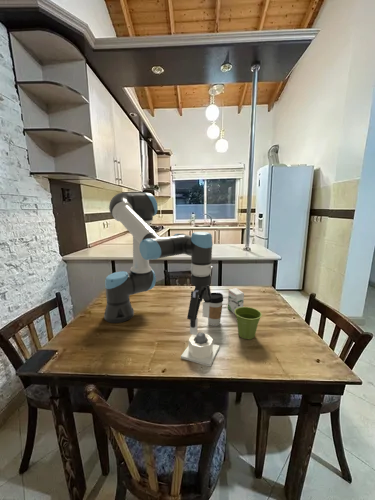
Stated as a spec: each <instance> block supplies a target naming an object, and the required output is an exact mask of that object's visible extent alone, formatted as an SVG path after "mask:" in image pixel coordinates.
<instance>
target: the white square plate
mask: <svg viewBox="0 0 375 500" xmlns="http://www.w3.org/2000/svg"><path fill="white" fill-rule="evenodd" d="M205 334H206V333H205V332H204V333H203V332H197V335H196V343H198V344H204V343H205ZM219 350H220V345H217V344H214V343H213V352H212V354H211V355H210V357H206V358H203V359H200V358H196V357H193V356H192V355H191V354H190V352H189V344H188V346H187V347H186V349H185V350H184V351H183V352H182V354H181V355H180V359H182V360H184V361H185V360H186V361H190V362H192V363H197V364H200V365H203V366H207V367H211V366H212V364H213V362H214V360H215V358H216V356H217V354H218V351H219Z"/></svg>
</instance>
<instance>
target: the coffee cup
mask: <svg viewBox="0 0 375 500" xmlns="http://www.w3.org/2000/svg"><path fill="white" fill-rule="evenodd" d="M208 296H209V295H208ZM211 297H212V298H211V300H212V302H209V303H210V304H209V318H207V319H208V320H207V323H208V324H209V325H210V326H213V327H214V326H219V325H221V318H222V312H223V302H224V295H223V294H222V293H220V292H211Z"/></svg>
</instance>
